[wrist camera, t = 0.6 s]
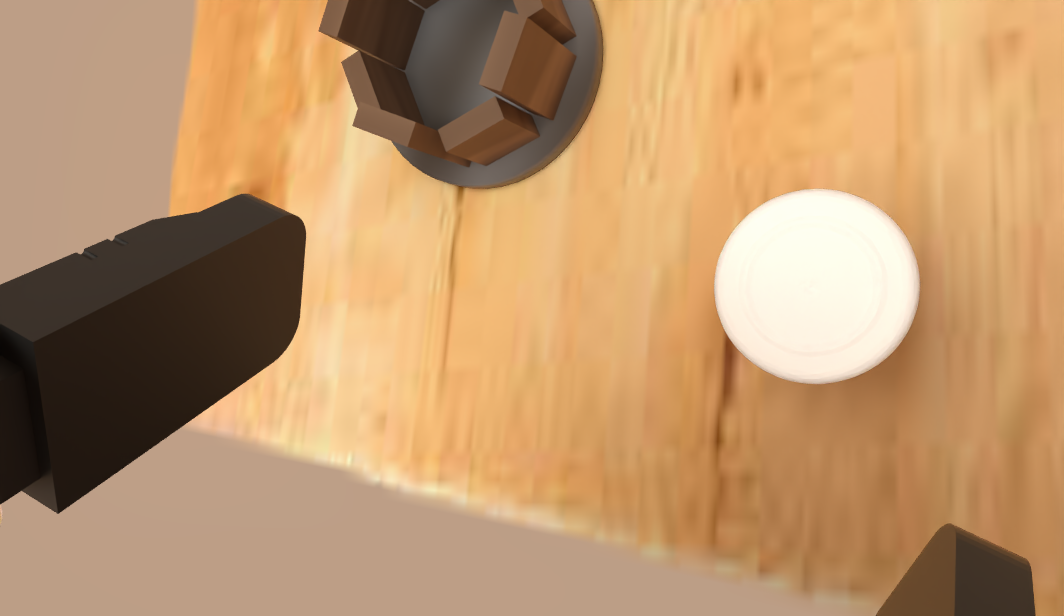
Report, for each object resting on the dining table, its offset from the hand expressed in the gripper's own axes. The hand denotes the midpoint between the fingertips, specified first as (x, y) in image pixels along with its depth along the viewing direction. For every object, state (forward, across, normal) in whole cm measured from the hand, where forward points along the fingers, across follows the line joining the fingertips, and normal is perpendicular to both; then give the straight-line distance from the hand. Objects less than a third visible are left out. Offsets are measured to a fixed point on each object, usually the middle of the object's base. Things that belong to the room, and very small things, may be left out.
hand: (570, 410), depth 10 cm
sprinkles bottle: (+23, -4, +8) cm, 24 cm away
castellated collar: (+26, +14, +6) cm, 30 cm away
